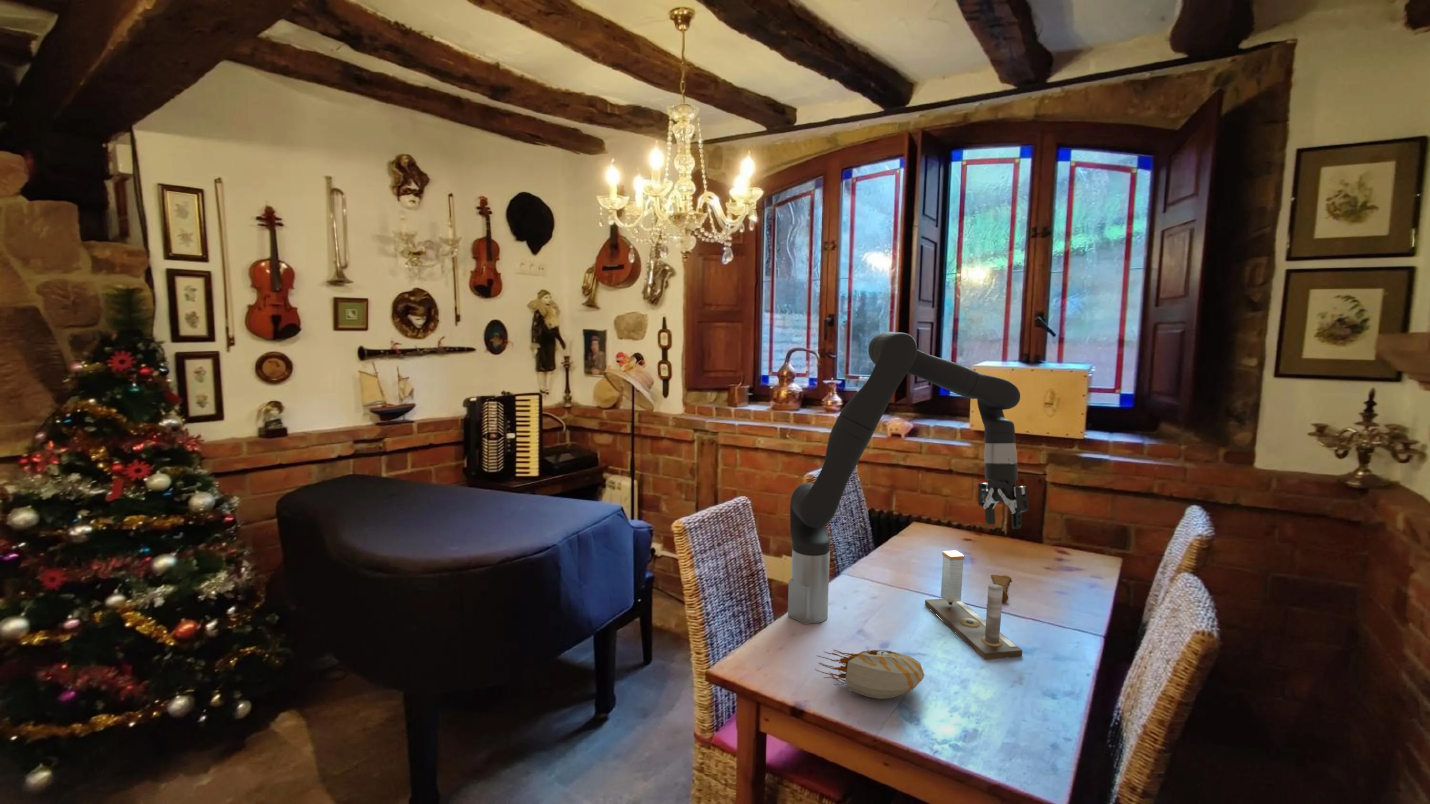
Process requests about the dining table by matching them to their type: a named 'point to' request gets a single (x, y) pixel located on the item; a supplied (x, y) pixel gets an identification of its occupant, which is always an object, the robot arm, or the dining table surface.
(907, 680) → the nautilus
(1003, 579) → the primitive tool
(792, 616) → the robot arm
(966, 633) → the wooden base plate
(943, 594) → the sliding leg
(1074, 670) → the dining table surface
